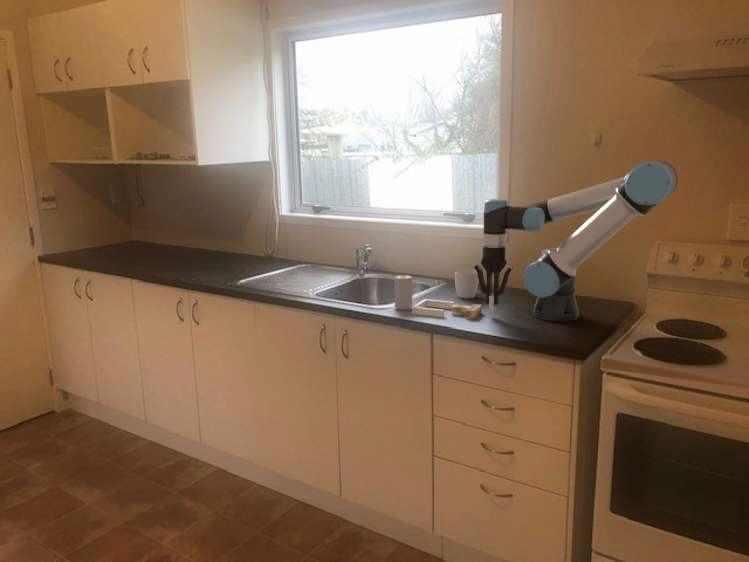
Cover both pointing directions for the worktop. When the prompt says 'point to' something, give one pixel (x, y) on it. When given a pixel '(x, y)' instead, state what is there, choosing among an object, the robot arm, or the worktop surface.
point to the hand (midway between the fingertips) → (491, 313)
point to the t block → (467, 311)
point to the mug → (466, 283)
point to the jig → (421, 309)
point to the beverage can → (403, 292)
